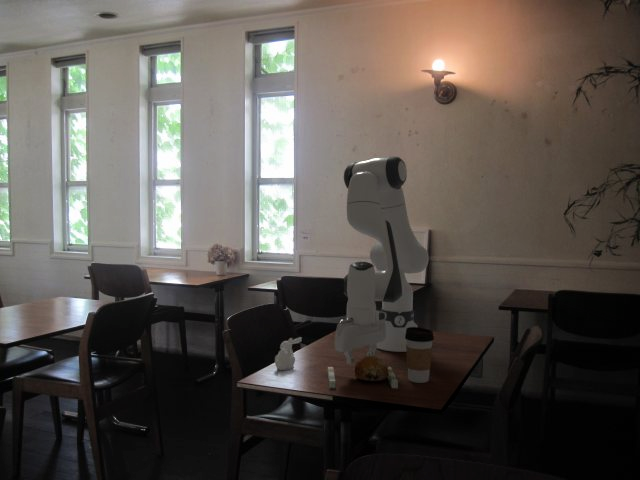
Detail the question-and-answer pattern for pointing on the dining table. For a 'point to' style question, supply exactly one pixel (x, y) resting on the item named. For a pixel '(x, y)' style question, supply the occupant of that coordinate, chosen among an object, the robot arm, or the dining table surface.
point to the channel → (390, 377)
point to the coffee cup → (418, 353)
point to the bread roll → (371, 369)
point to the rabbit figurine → (286, 355)
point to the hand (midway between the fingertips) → (360, 360)
